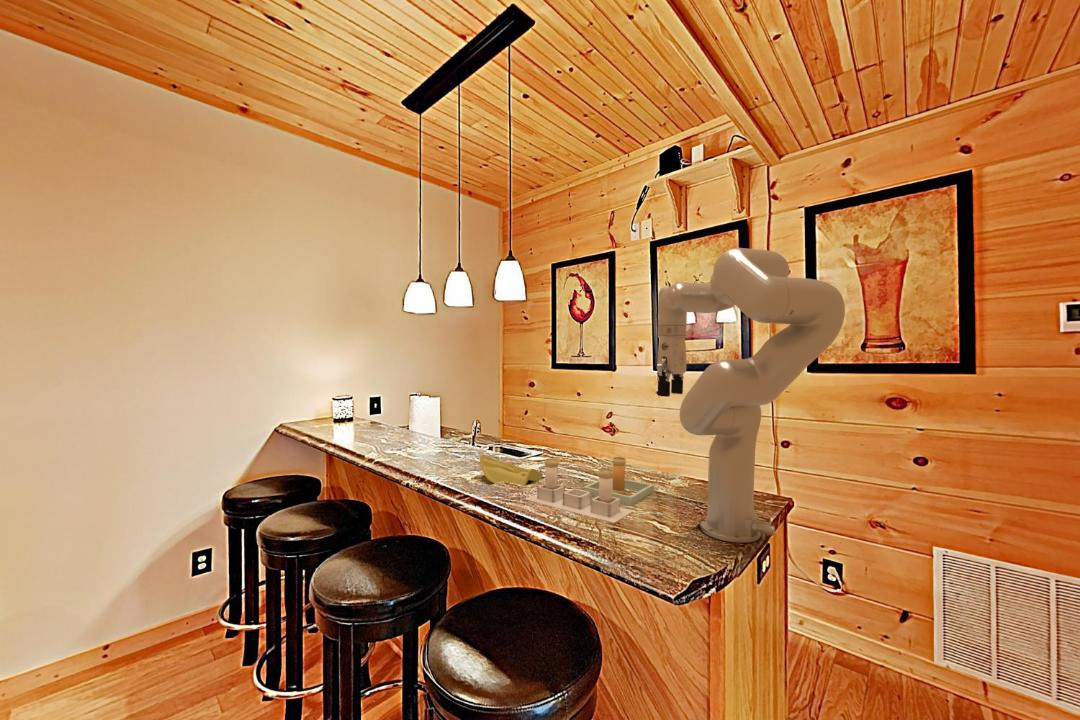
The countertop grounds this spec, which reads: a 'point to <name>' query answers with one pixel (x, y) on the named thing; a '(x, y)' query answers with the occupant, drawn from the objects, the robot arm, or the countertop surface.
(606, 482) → the cylinder
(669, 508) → the countertop surface
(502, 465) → the plastic component
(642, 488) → the tray
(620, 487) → the cylinder
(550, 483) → the cylinder
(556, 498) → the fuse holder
